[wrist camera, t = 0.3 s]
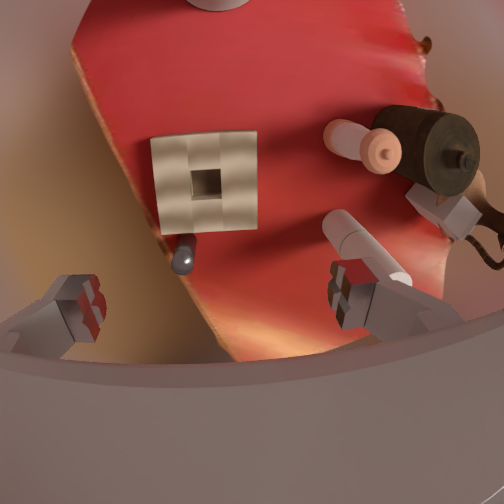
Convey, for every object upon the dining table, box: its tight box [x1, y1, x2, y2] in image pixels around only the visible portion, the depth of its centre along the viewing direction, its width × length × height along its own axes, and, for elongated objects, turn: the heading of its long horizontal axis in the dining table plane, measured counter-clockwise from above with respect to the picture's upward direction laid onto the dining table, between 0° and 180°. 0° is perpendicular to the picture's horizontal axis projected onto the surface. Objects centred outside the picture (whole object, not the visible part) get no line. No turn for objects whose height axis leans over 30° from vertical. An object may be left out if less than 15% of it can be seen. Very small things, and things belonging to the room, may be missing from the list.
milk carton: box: [405, 182, 483, 241], centre depth 52 cm, size 7×7×19 cm
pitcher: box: [436, 169, 504, 270], centre depth 47 cm, size 18×17×28 cm
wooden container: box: [371, 105, 480, 197], centre depth 44 cm, size 15×15×22 cm
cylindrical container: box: [322, 209, 412, 287], centre depth 51 cm, size 7×7×25 cm
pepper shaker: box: [323, 119, 402, 174], centre depth 44 cm, size 7×7×19 cm
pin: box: [171, 233, 197, 275], centre depth 56 cm, size 4×4×10 cm
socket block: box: [150, 129, 257, 235], centre depth 52 cm, size 18×18×5 cm
